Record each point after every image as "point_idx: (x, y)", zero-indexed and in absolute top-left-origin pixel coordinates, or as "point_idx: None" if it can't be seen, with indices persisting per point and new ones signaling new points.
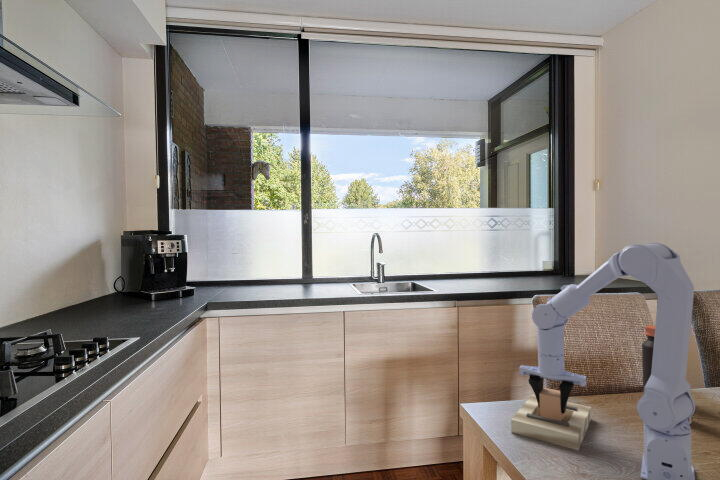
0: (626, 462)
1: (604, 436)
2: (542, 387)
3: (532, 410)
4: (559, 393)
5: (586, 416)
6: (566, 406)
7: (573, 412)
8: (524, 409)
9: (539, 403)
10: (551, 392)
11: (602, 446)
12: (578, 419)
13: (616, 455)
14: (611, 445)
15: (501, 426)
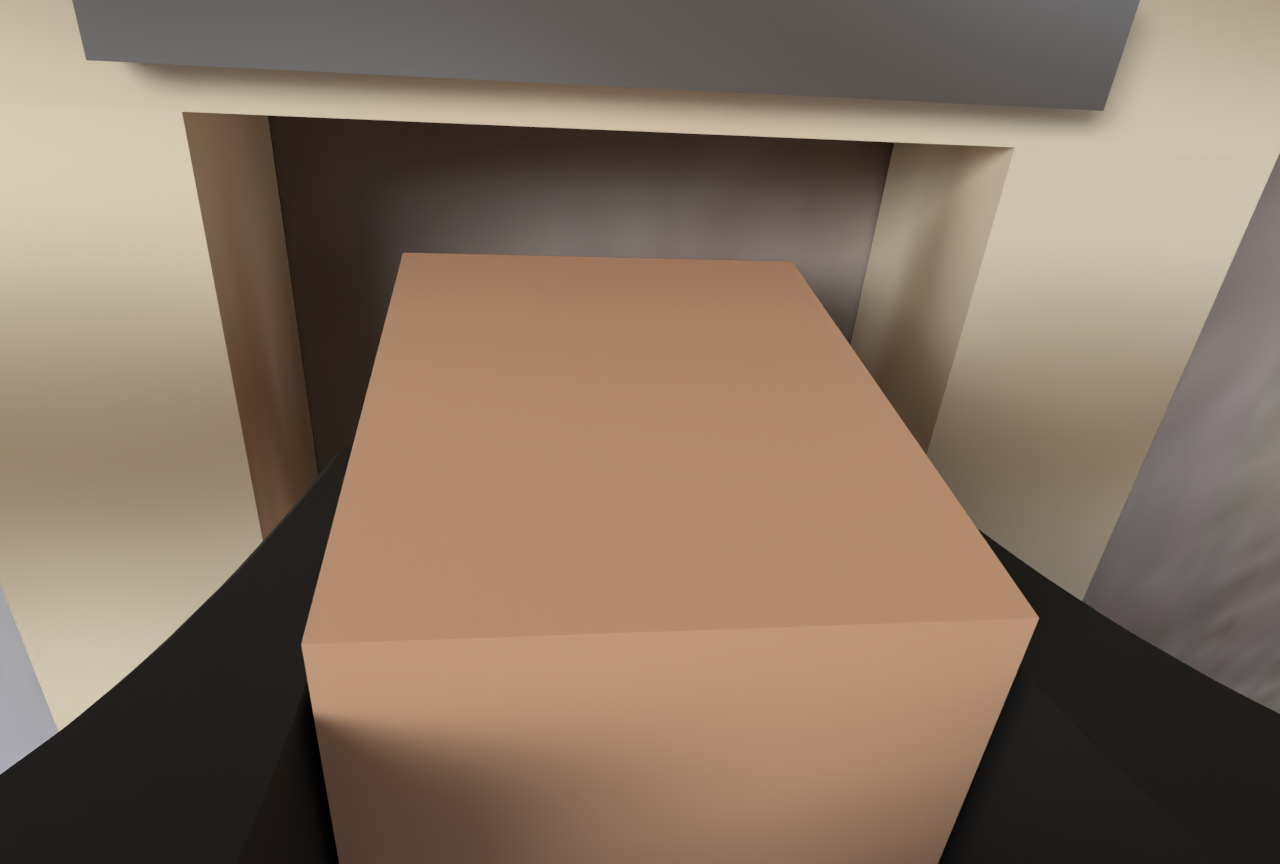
0: (1272, 700)
1: (1263, 302)
2: (294, 823)
3: (243, 555)
4: (884, 801)
5: (1213, 292)
6: (883, 79)
7: (997, 227)
8: (98, 598)
9: None
10: (652, 852)
11: (1152, 556)
12: (1040, 487)
13: (1231, 643)
14: (1260, 487)
15: (5, 727)
